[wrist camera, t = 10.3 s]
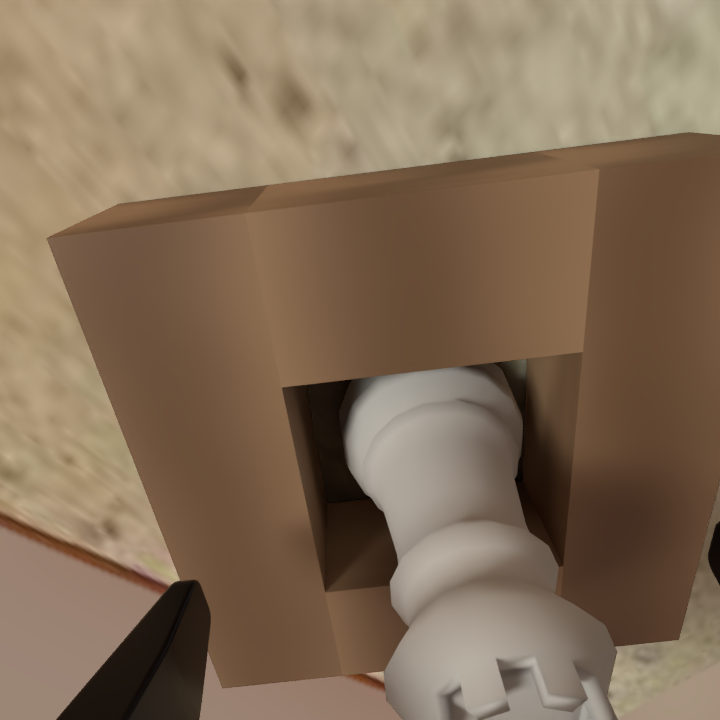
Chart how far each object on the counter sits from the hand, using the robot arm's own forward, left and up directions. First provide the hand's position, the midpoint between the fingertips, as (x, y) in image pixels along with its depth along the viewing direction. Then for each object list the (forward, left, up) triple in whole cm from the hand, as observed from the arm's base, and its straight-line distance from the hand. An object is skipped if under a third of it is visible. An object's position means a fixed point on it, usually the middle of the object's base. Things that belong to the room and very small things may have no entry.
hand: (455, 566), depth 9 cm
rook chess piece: (0, 0, -5) cm, 5 cm away
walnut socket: (0, 0, -5) cm, 5 cm away
